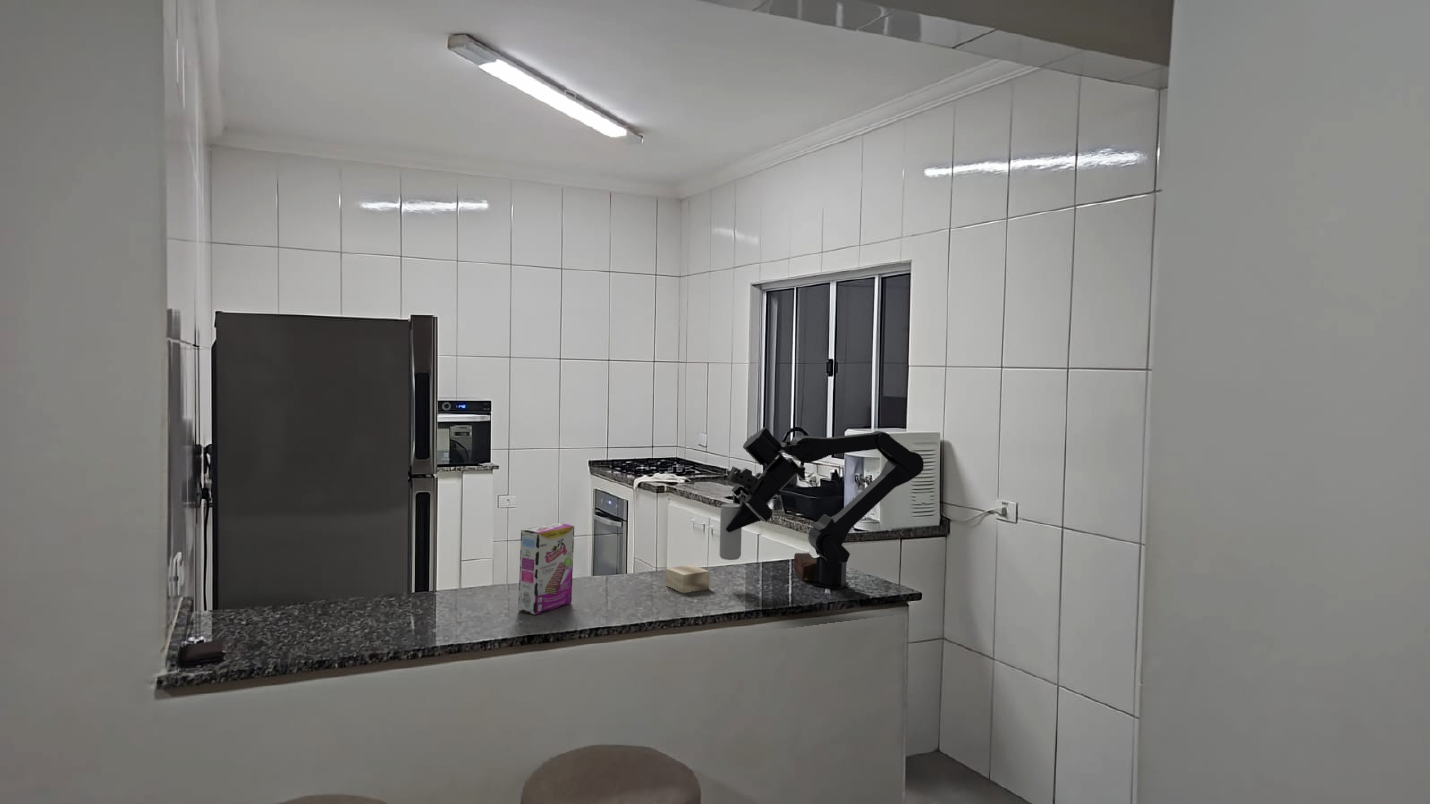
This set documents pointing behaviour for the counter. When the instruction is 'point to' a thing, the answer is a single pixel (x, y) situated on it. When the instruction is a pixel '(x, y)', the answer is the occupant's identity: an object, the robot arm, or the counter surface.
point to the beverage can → (729, 533)
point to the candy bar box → (546, 568)
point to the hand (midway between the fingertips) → (724, 528)
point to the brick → (804, 566)
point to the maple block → (687, 578)
